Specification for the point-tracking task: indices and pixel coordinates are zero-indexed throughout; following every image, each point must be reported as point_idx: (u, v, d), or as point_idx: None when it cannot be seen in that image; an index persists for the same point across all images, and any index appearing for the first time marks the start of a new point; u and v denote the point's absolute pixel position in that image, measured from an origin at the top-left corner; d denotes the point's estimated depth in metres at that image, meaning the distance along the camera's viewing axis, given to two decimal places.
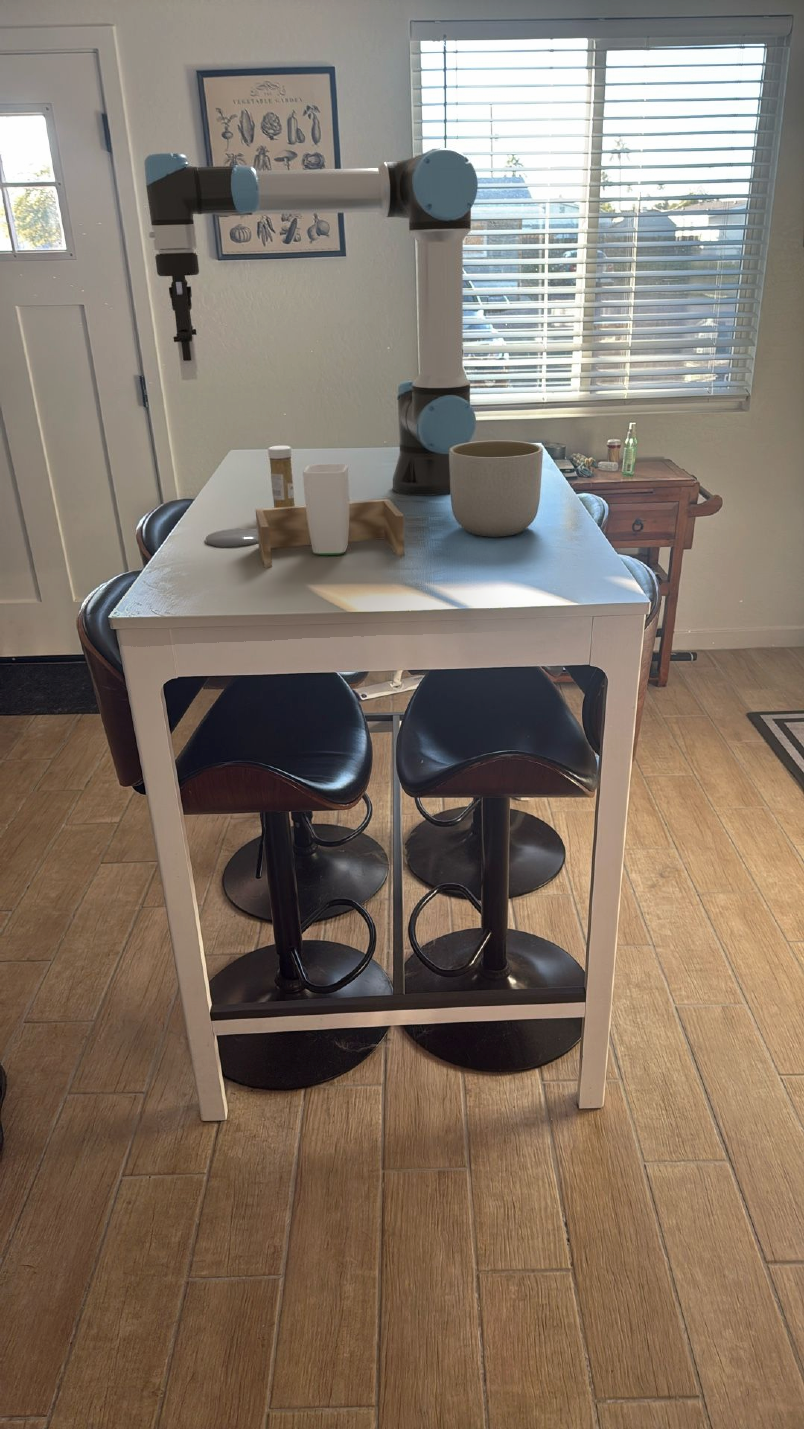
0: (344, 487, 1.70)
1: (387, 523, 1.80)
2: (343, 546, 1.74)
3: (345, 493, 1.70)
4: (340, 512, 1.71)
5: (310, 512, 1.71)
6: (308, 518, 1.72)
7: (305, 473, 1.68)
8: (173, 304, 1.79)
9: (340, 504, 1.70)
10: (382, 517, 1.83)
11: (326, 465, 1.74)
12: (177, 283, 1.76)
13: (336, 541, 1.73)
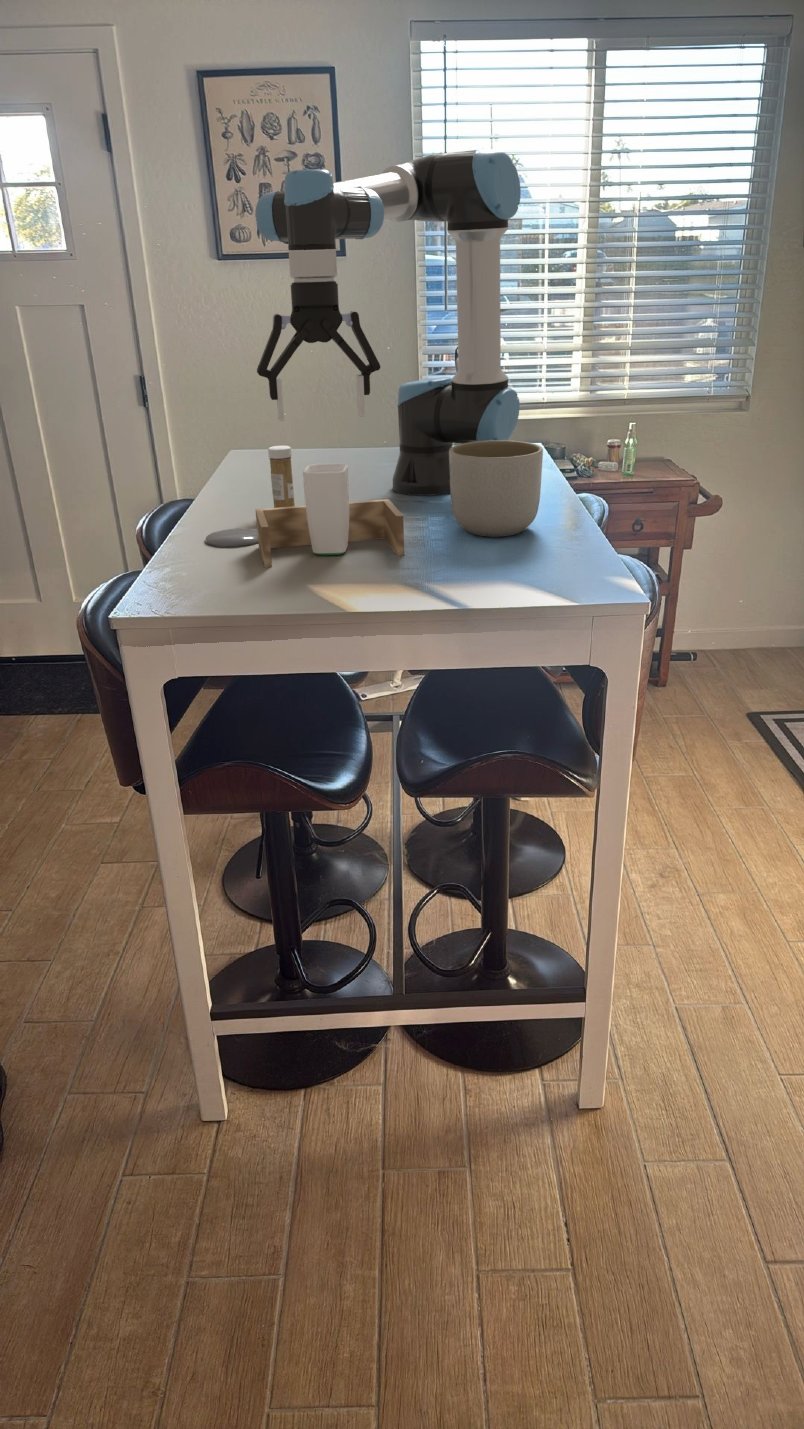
0: (344, 487, 1.70)
1: (387, 523, 1.80)
2: (343, 546, 1.74)
3: (345, 493, 1.70)
4: (340, 512, 1.71)
5: (310, 512, 1.71)
6: (308, 518, 1.72)
7: (305, 473, 1.68)
8: None
9: (340, 504, 1.70)
10: (382, 517, 1.83)
11: (326, 465, 1.74)
12: (274, 315, 1.59)
13: (336, 541, 1.73)
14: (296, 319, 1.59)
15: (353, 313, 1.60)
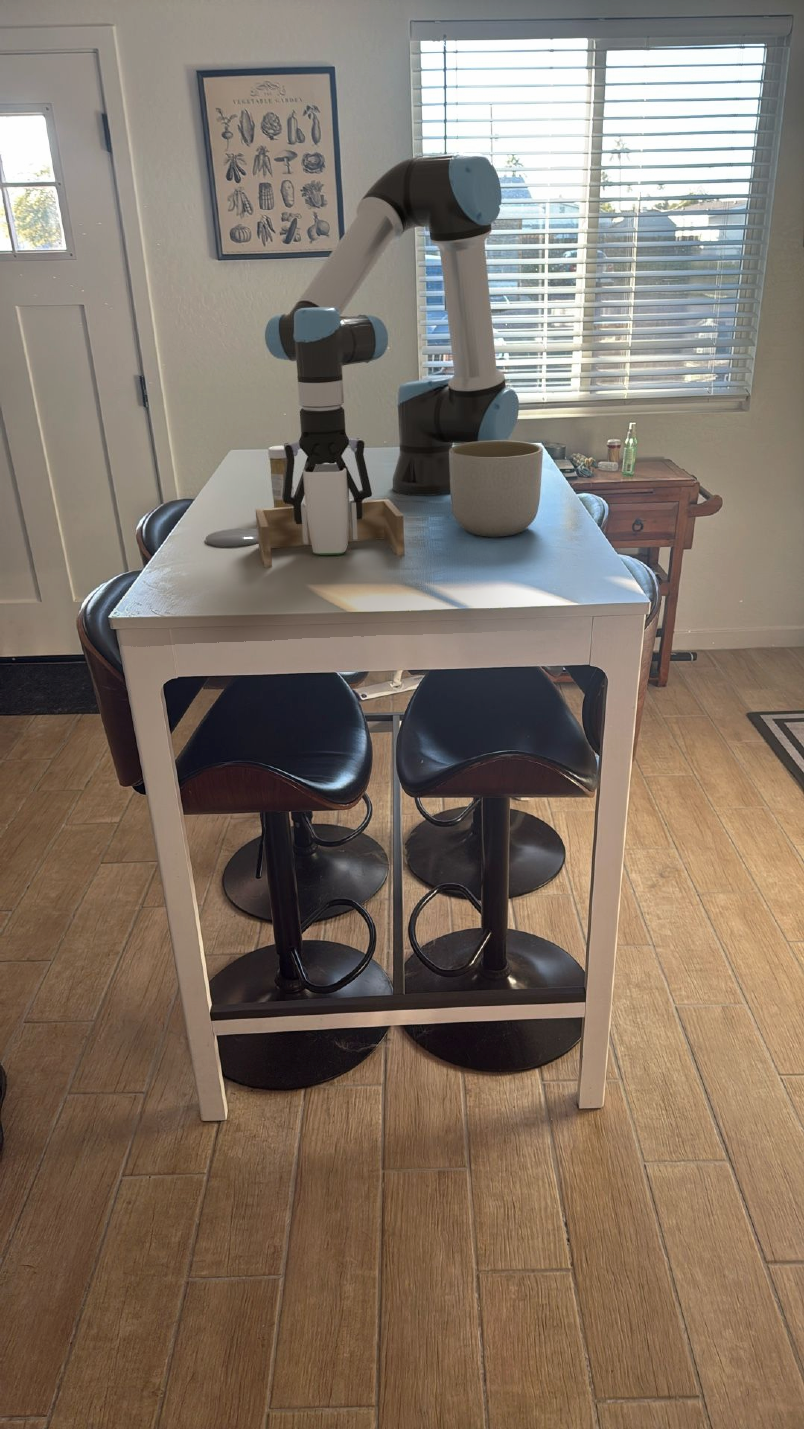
0: (344, 487, 1.70)
1: (387, 523, 1.80)
2: (343, 546, 1.74)
3: (345, 493, 1.70)
4: (340, 512, 1.71)
5: (310, 512, 1.71)
6: (308, 518, 1.72)
7: (305, 473, 1.68)
8: (306, 462, 1.71)
9: (340, 504, 1.70)
10: (382, 517, 1.83)
11: (326, 465, 1.74)
12: (284, 446, 1.68)
13: (336, 541, 1.73)
14: (305, 444, 1.67)
15: (360, 441, 1.69)
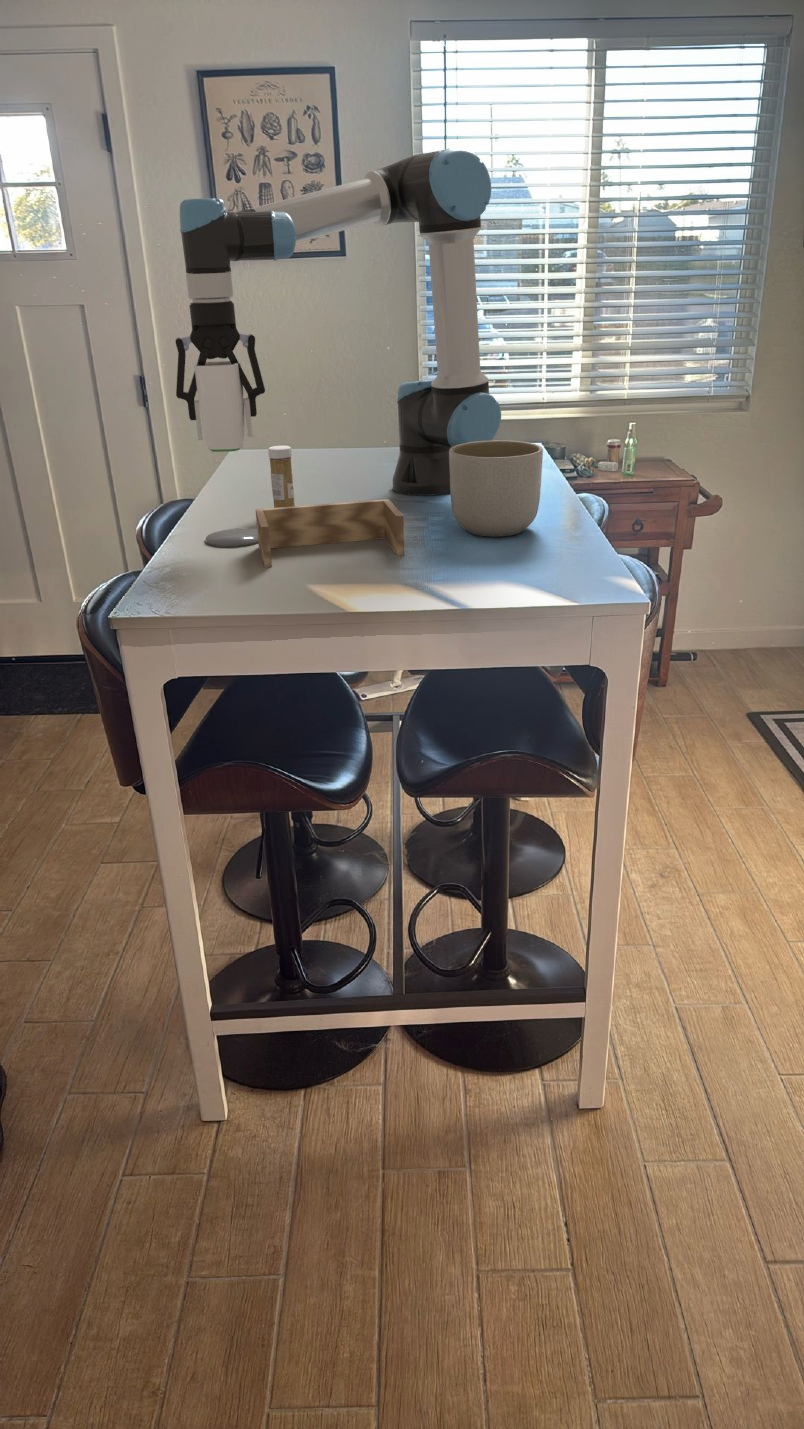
0: (235, 381, 1.72)
1: (387, 523, 1.80)
2: (237, 442, 1.77)
3: (237, 388, 1.73)
4: (232, 407, 1.73)
5: (203, 407, 1.74)
6: (201, 413, 1.74)
7: (196, 367, 1.71)
8: None
9: (232, 399, 1.73)
10: (382, 517, 1.83)
11: (220, 362, 1.76)
12: (175, 340, 1.71)
13: (230, 437, 1.76)
14: (195, 337, 1.70)
15: (250, 336, 1.72)
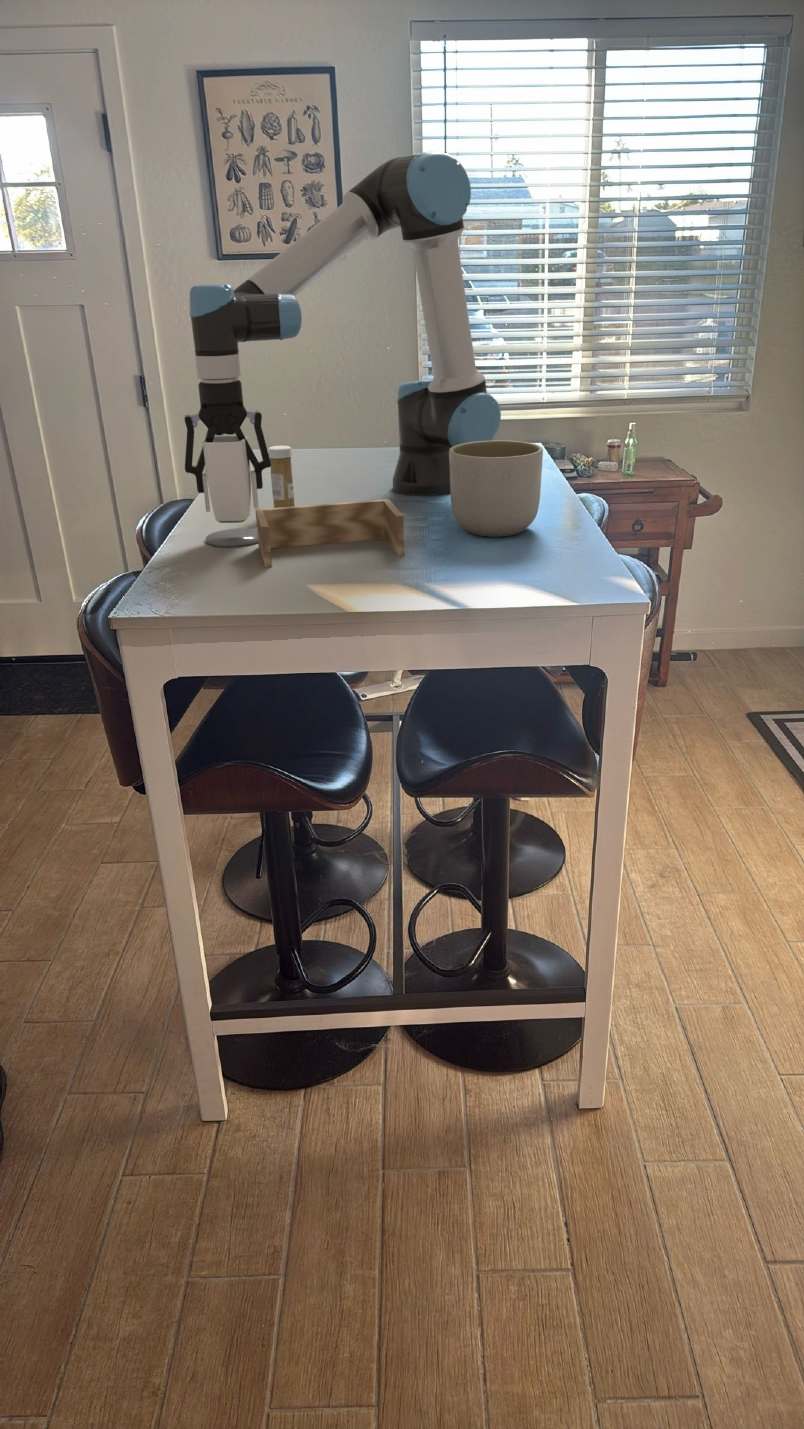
0: (242, 457, 1.78)
1: (387, 523, 1.80)
2: (244, 514, 1.82)
3: (243, 463, 1.78)
4: (239, 481, 1.79)
5: (210, 481, 1.79)
6: (209, 487, 1.80)
7: (204, 443, 1.76)
8: None
9: (239, 473, 1.78)
10: (382, 517, 1.83)
11: (227, 437, 1.82)
12: (184, 417, 1.76)
13: (236, 509, 1.81)
14: (204, 415, 1.75)
15: (257, 413, 1.77)
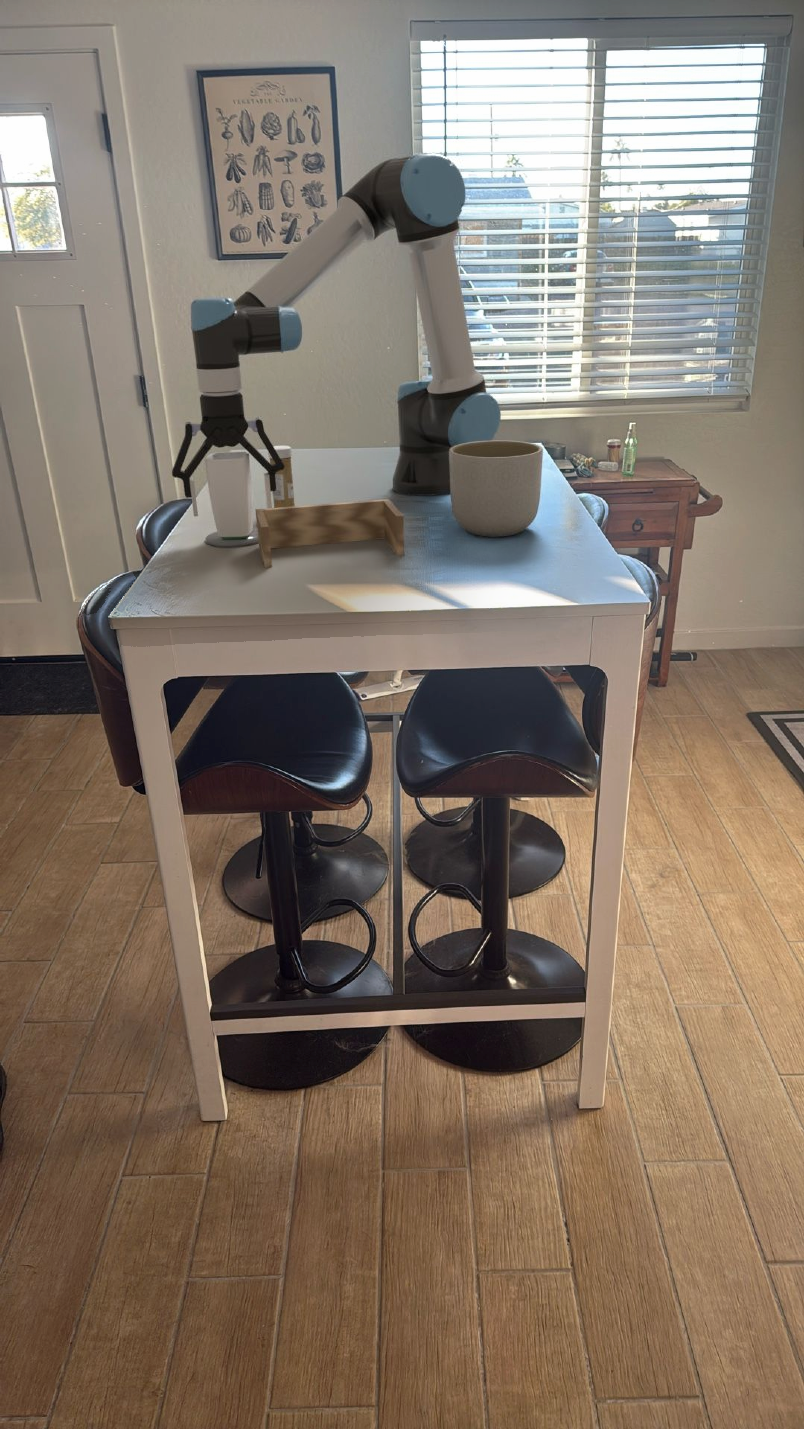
0: (244, 473, 1.79)
1: (387, 523, 1.80)
2: (246, 530, 1.83)
3: (246, 479, 1.80)
4: (241, 498, 1.80)
5: (213, 498, 1.80)
6: (212, 503, 1.81)
7: (206, 460, 1.78)
8: (204, 442, 1.80)
9: (241, 490, 1.79)
10: (382, 517, 1.83)
11: (229, 453, 1.83)
12: (185, 424, 1.77)
13: (239, 525, 1.82)
14: (205, 427, 1.76)
15: (257, 421, 1.78)
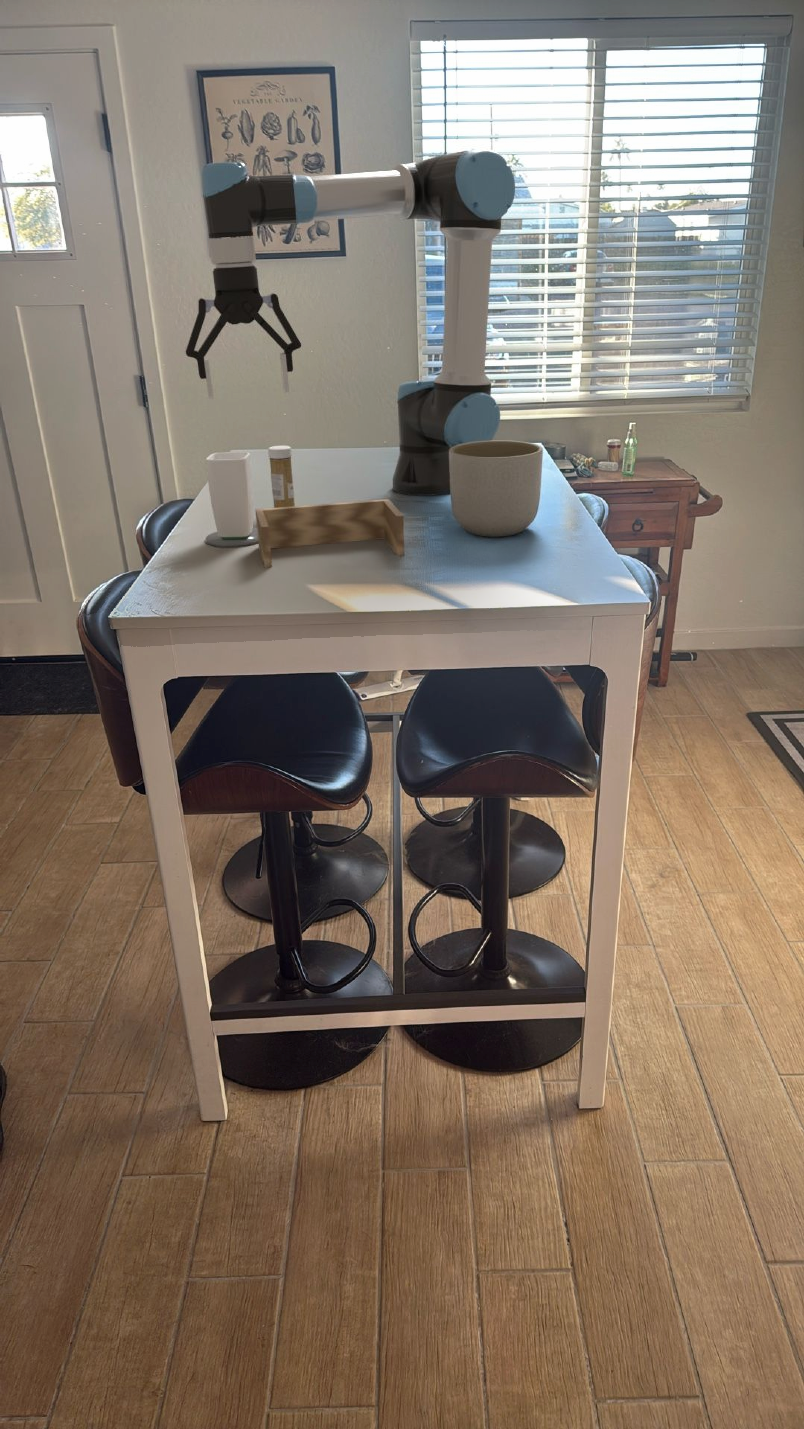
0: (245, 474, 1.79)
1: (387, 523, 1.80)
2: (246, 530, 1.83)
3: (246, 479, 1.80)
4: (242, 498, 1.80)
5: (213, 498, 1.80)
6: (212, 503, 1.81)
7: (207, 460, 1.78)
8: (217, 320, 1.74)
9: (241, 490, 1.79)
10: (382, 517, 1.83)
11: (230, 453, 1.83)
12: (198, 300, 1.71)
13: (239, 525, 1.82)
14: (219, 302, 1.71)
15: (272, 295, 1.72)
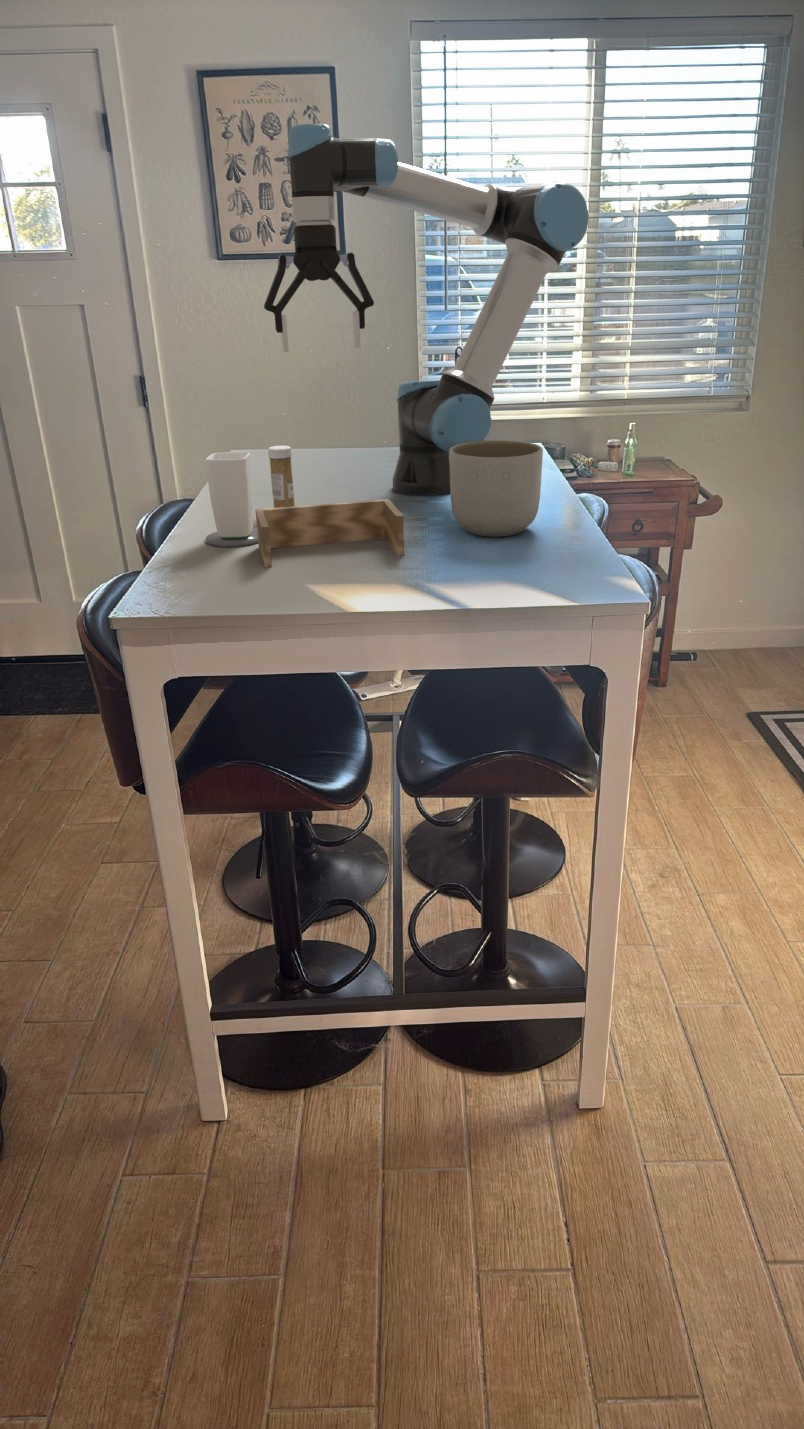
0: (245, 474, 1.79)
1: (387, 523, 1.80)
2: (246, 530, 1.83)
3: (246, 479, 1.80)
4: (242, 498, 1.80)
5: (213, 498, 1.80)
6: (212, 503, 1.81)
7: (207, 460, 1.78)
8: None
9: (241, 490, 1.79)
10: (382, 517, 1.83)
11: (230, 453, 1.83)
12: (279, 256, 1.79)
13: (239, 525, 1.82)
14: (299, 259, 1.79)
15: (349, 254, 1.80)
